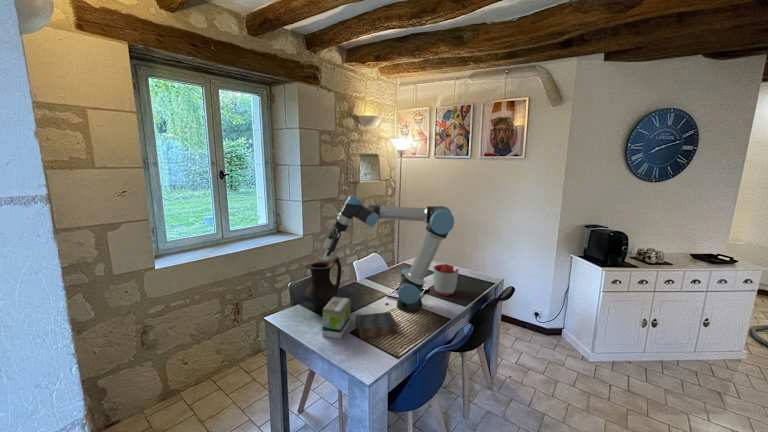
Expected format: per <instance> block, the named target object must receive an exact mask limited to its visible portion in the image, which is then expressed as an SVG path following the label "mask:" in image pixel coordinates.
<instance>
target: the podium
mask: <svg viewBox="0 0 768 432" xmlns="http://www.w3.org/2000/svg"><path fill="white" fill-rule="evenodd" d="M355 326H356V328H357V332H358V335H359V338H360V339H368V338H375V337H376V338H377V337H384V336H385V337H386V336H392V335H393V336H394V335H398V334H399V326H398V324H397V322H396V320H395V318H394V316H393V315H392V312H391V311H388V312H378V313H367V314H358V315H355Z"/></svg>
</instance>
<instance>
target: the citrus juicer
mask: <svg viewBox="0 0 768 432" xmlns="http://www.w3.org/2000/svg"><path fill="white" fill-rule="evenodd" d="M433 269H434V270H433V288H434V292H435V293H436V294H437V295H439V296H441V295H443V296H442V297H450V296H449V295H451V296H453V295H454V293H455V291H456V288H457V284H458V276H460V274H459V269H455V270H454V266H453V265H451V264H447V263H446V264H445V263H444V264H436V265H434V267H433ZM452 294H453V295H452Z"/></svg>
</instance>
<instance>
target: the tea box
mask: <svg viewBox="0 0 768 432" xmlns="http://www.w3.org/2000/svg"><path fill="white" fill-rule="evenodd" d="M351 302H352V301H351V298H347V297H341V296H336V297H333V298H332V299H331V300H330V301H329V302H328V303H327V305H326V306H325V307H324V308H323V312H322V322H321V323H322V325H321V326H322V327H321V330H322V332H321V337H325V338H333V339H337V340H341V339H342V337H343V335H344V334H345V332H346V331H347V329H348V328H349V326H350V324H351Z"/></svg>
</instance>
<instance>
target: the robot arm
mask: <svg viewBox="0 0 768 432" xmlns="http://www.w3.org/2000/svg"><path fill="white" fill-rule="evenodd" d="M362 203H363V202H362V199H360V198H359V197H358V196H356V195H353V194H350V195H349V196H348V197H347V199H346V201H345V203H344V204H343V205H342V207H341V209H340V212H339V213H337V217H336V219H335V220H334V222H333V224H332V225H333V228H332V229H331V231H330V232H329V233H328V237H327V239H326V240H325V242H324V244H323V246H322V249H325V253H324V255H323V257H322V260H326V261H329V258H330V256H331V255H332V253H334V252H335V250H336V247H337V245H338V243H339V240H340V238H341V236H342V233H341V232H346V231H347V229H348V227H349V225H350V224H351V223H352V220H353V218H356V219H357V220H358V221H361V222H362V223H363V224H365V225H367V226H369V227H371V228H373V227H374V226H375V225H376V224H377V222H378V220H386V221H387V220H388V221H389V220H391V221H407V222H408V221H411V222H424V223H425V224H426V227H425V232H426V234H425V236H424V239H423V240H422V243H421V245H420V247H419V249H418V251H417V253H416V256H415V258H414V260H413V262H412V264H411V267H410V268H407V267H406V268H403V269H401V271H400V281H399V285H398V289H397V296H398V299H397V300H396V308H397V309H399V310H400V311H402V312H404V313H405V312H406V313H417V312H420V311H421V310H422V309H423V301H422V297H421V292H422V290H423V288H424V285H425V283H426V282H425V276H426V275H427V273H428V271H429V269H430V267H431V264H432V262H433V260H434V257H435V256H436V254H437V252H438V249H439V247H440V246H441V242H442V241H443V240H445V239H447V237H448V235H449V233H450V232H451V231H452V229H454V227H455V226H454V224H455V218H454V215H453V214H452V211H451V210H450V208H448V207H447V206H444V205H443V206H441V205H437V206H435V205H432V206H431V205H428V206H425V207H414V206H413V207H411V206H410V207H409V206H408V207H407V206H388V205H387V206H385V205H384V206H383V205H375V204H370V205H368V206H367V207H365V206H364V205H362Z"/></svg>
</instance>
